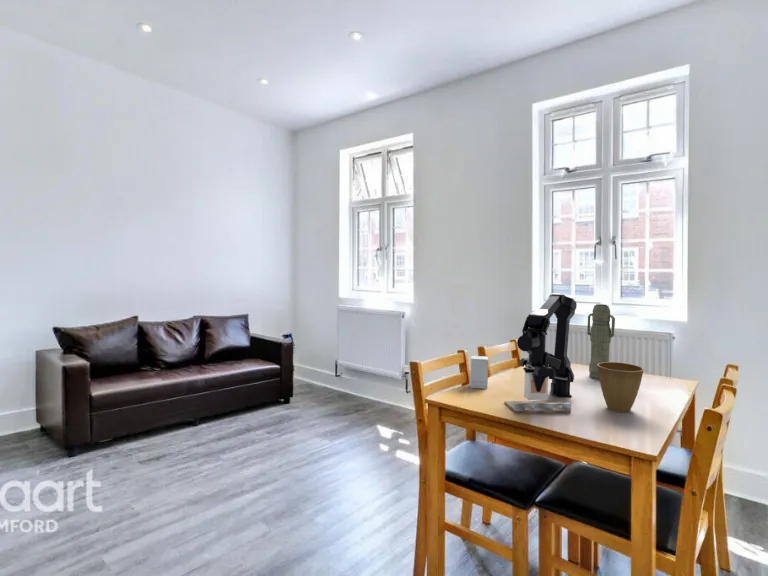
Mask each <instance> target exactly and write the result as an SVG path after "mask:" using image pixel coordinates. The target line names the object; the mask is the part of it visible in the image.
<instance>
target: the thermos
mask: <svg viewBox="0 0 768 576" xmlns="http://www.w3.org/2000/svg"><path fill="white" fill-rule="evenodd" d="M591 317H592V318H591ZM591 320H592V324H591ZM610 322H611V324H610ZM615 325H616V317H615V316H614V315H612V314H611V309H610V306H609V305H607V304H604V303H603V304H599V303H597V304H594V306H593V308H592V313H589V314H588V316H587V330H586V331H587V335H588V336H589V340H590V362H589V363H588V364H589V365H588V372H589V375H588V376H590V377H592V378H591V379H594V378H596V379H595V380H600V379H599V373H598V364H599V363H603V362H609V361H610V344H611V342H612V338H613V337H614V336H615ZM590 377H589V378H590Z"/></svg>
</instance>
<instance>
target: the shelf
mask: <svg viewBox="0 0 768 576" xmlns="http://www.w3.org/2000/svg"><path fill="white" fill-rule="evenodd" d="M504 404H505V405H506V406H507V407H508V408H509V409H510V408H511V409H512V410H511V409H510V410H511V411H512V412H514V413H515V414H571V413H572V404H571V403H570V402H558V401H557V400H504Z"/></svg>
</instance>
